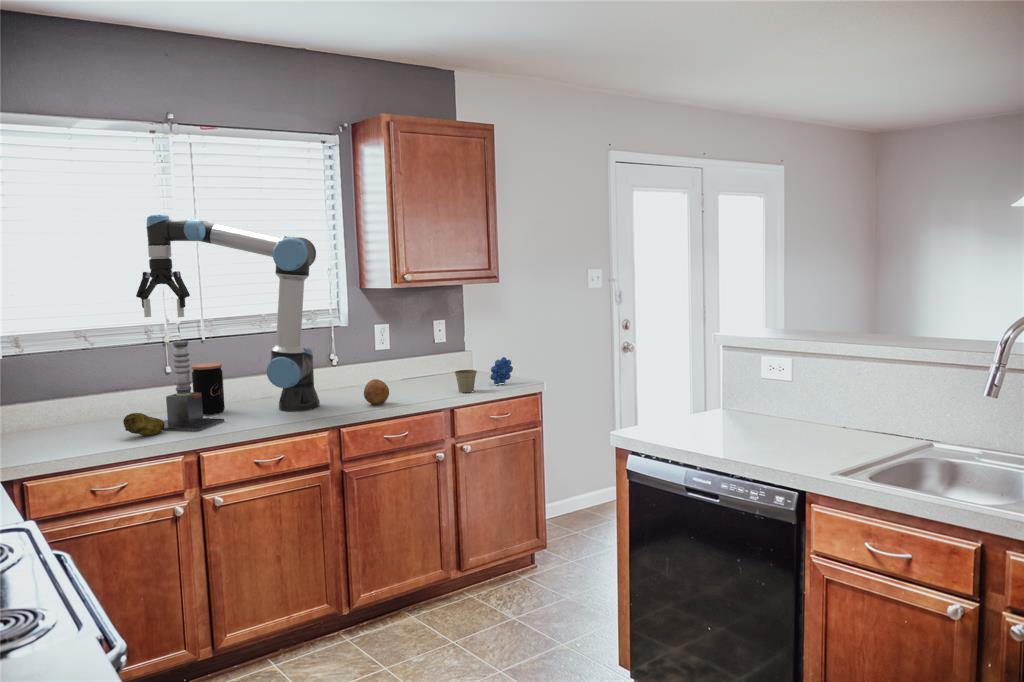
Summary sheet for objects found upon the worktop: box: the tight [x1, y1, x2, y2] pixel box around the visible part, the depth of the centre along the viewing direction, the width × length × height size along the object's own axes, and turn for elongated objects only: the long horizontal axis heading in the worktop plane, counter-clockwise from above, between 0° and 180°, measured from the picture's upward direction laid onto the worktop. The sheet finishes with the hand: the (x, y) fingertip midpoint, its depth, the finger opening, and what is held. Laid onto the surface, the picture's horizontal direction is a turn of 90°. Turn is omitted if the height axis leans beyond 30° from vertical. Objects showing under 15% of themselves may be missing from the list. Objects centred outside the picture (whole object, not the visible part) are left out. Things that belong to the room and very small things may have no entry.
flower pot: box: [453, 369, 478, 393], centre depth 336 cm, size 9×9×9 cm
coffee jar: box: [191, 362, 225, 416], centre depth 303 cm, size 11×11×18 cm
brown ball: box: [363, 378, 390, 406], centre depth 312 cm, size 10×10×10 cm
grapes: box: [490, 356, 514, 385], centre depth 353 cm, size 12×7×12 cm, turn 125°
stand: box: [162, 391, 226, 433], centre depth 281 cm, size 20×16×11 cm
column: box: [172, 340, 193, 396], centre depth 279 cm, size 5×5×22 cm
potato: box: [122, 412, 164, 437], centre depth 267 cm, size 8×13×8 cm, turn 124°
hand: (164, 317), depth 293 cm, fingers open, 13 cm apart
